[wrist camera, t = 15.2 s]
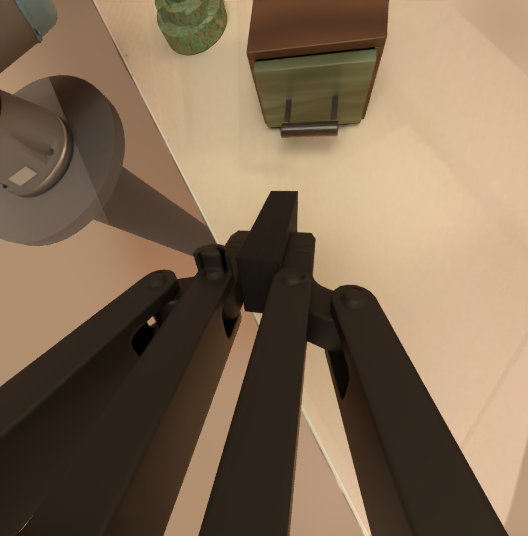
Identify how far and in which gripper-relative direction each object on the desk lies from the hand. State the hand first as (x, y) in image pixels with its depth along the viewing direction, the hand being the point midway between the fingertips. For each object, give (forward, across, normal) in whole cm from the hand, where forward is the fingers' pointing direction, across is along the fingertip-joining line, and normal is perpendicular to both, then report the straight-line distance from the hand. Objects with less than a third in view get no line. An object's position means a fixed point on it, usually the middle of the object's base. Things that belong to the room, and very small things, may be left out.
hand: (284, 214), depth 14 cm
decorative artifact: (+36, -19, +14) cm, 43 cm away
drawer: (+26, 0, +5) cm, 26 cm away
